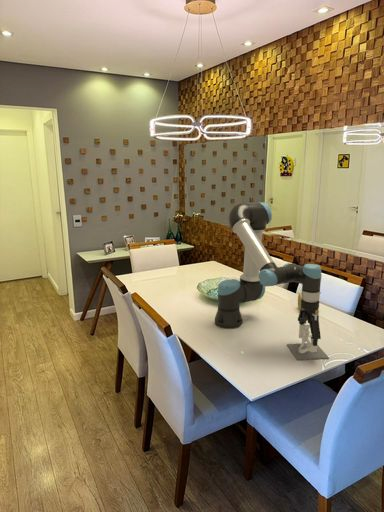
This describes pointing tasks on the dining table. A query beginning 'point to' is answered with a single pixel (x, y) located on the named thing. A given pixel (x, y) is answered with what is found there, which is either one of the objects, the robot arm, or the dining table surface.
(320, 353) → the mat
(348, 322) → the dining table surface
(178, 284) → the dining table surface
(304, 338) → the figurine
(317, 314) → the cheese
